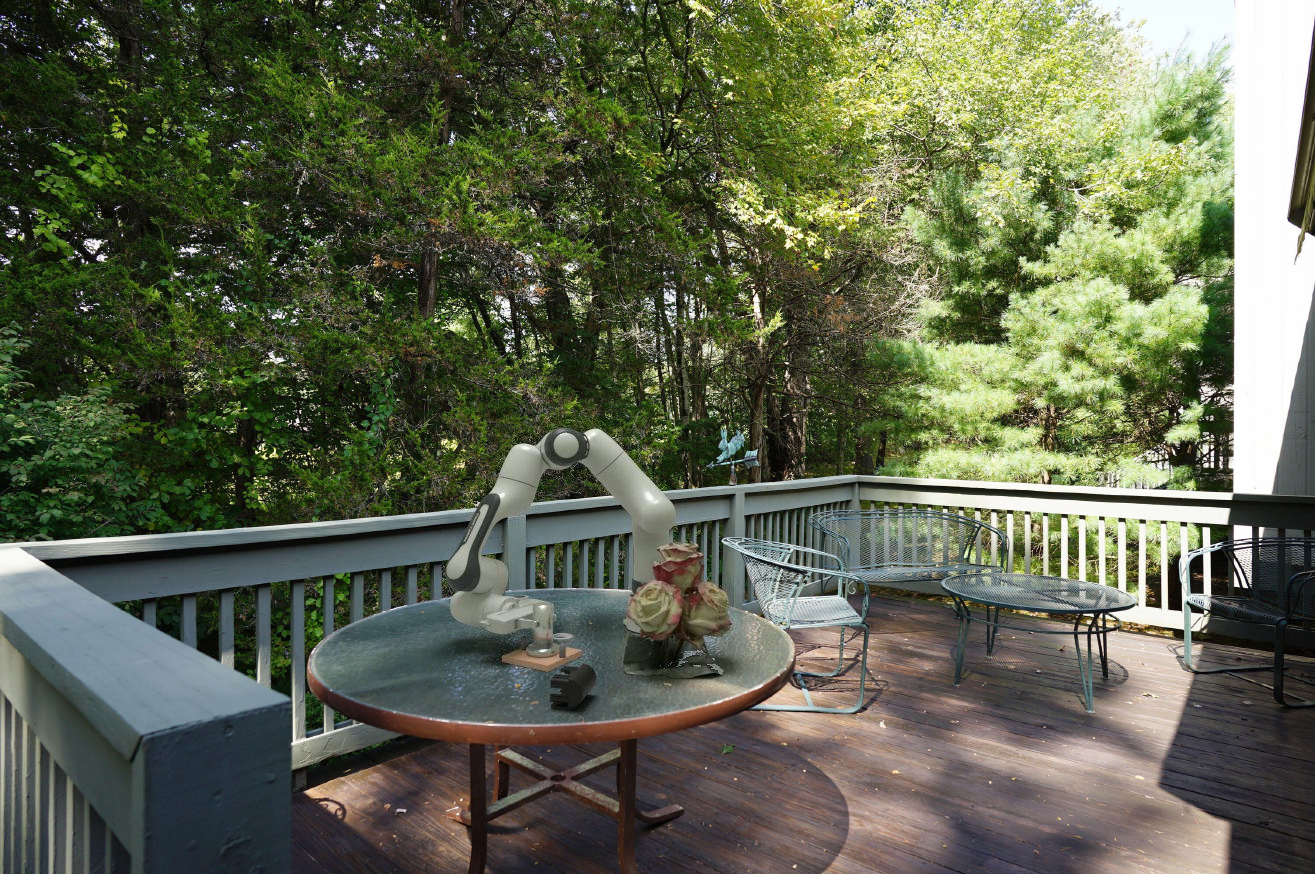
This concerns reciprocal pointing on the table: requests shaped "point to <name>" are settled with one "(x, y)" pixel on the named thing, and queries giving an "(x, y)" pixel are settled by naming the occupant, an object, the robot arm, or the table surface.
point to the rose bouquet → (675, 616)
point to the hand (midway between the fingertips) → (546, 621)
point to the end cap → (572, 686)
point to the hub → (543, 632)
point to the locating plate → (541, 664)
